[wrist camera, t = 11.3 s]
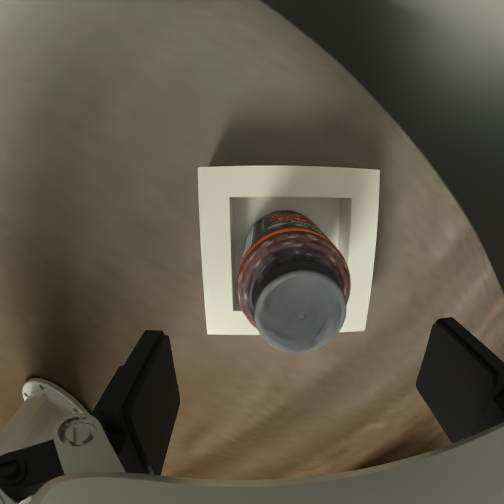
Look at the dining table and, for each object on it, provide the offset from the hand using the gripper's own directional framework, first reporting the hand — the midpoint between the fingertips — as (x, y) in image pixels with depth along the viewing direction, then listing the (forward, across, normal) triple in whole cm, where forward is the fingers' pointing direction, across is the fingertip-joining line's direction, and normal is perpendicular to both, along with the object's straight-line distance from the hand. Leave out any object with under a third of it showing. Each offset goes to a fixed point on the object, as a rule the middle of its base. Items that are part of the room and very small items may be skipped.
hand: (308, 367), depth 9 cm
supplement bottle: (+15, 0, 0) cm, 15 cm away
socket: (+16, -1, -1) cm, 16 cm away
